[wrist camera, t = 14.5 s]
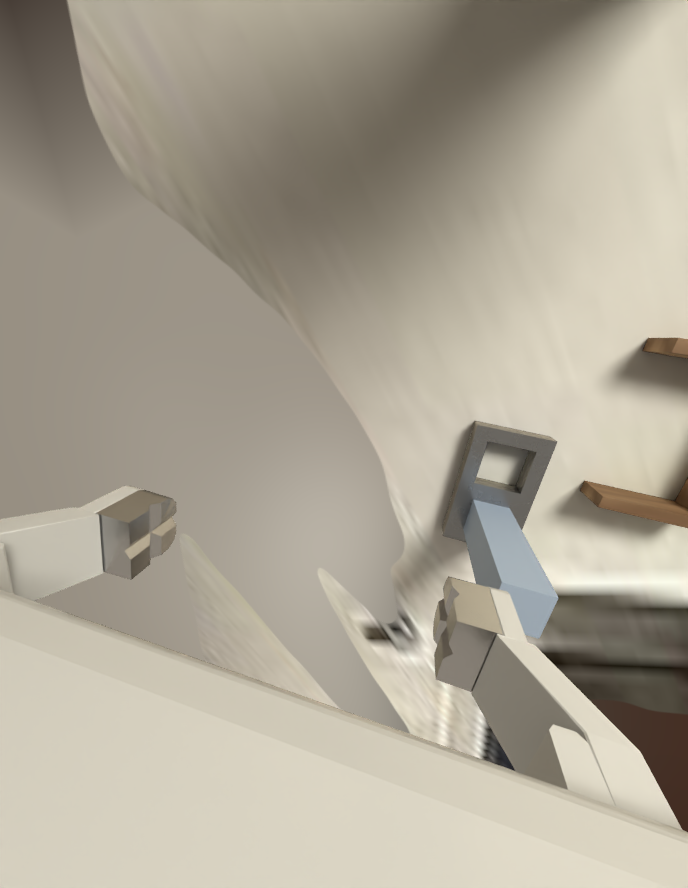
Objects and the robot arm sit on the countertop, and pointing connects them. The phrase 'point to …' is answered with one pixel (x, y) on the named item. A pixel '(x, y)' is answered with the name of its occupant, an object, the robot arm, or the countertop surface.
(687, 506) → the frame
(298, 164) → the countertop surface
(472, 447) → the hole plate
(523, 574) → the slate block
